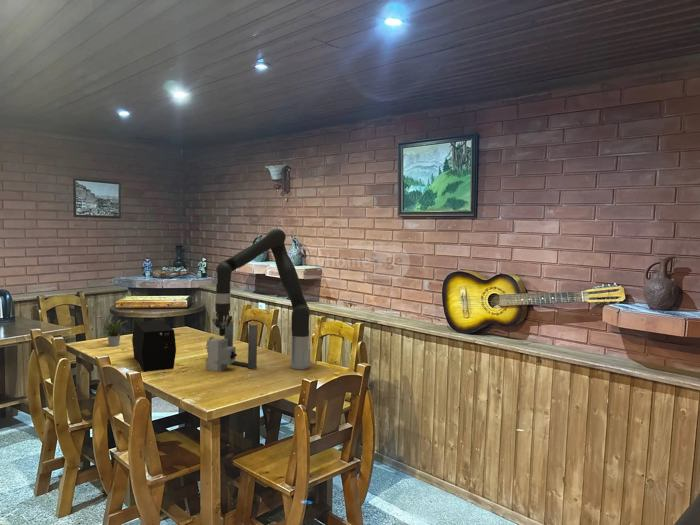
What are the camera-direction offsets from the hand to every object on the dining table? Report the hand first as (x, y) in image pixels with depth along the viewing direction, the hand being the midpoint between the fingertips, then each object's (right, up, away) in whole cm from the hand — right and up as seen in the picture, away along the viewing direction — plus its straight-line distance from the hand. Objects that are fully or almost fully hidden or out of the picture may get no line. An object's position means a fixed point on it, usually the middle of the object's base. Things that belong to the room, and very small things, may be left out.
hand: (222, 335), depth 254 cm
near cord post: (+14, -18, +6) cm, 23 cm away
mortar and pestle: (-9, -16, +20) cm, 27 cm away
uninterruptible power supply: (-38, -16, +8) cm, 43 cm away
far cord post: (0, -17, +13) cm, 21 cm away
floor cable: (+7, -17, +9) cm, 21 cm away
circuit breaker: (0, -18, +1) cm, 18 cm away
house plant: (-76, -13, +45) cm, 89 cm away
